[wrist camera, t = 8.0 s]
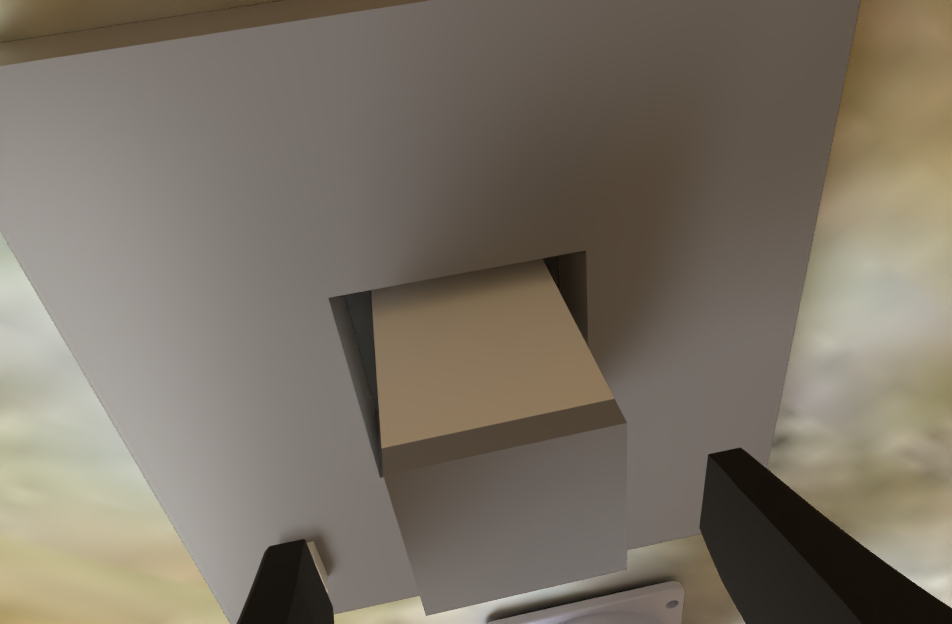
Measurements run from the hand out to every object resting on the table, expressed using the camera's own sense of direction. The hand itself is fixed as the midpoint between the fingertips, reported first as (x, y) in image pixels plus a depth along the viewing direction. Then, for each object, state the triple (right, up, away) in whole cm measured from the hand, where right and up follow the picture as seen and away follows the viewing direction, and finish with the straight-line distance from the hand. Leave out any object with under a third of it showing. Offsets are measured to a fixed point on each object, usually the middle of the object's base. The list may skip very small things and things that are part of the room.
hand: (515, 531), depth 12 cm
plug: (-1, +4, +6) cm, 7 cm away
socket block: (-1, +4, +6) cm, 7 cm away
